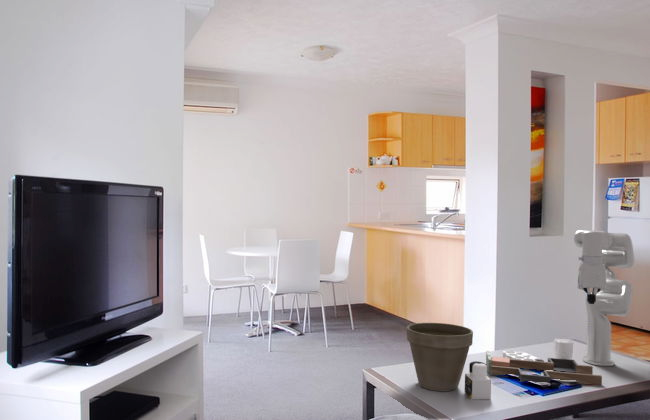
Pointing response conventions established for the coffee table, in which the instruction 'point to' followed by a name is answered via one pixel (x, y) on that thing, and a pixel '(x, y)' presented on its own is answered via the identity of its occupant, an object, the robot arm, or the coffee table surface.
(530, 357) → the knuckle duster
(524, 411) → the coffee table surface
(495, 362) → the salmon pink square block
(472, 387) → the medicine bottle
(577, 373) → the channel
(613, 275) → the robot arm
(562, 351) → the white cup
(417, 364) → the plant pot
